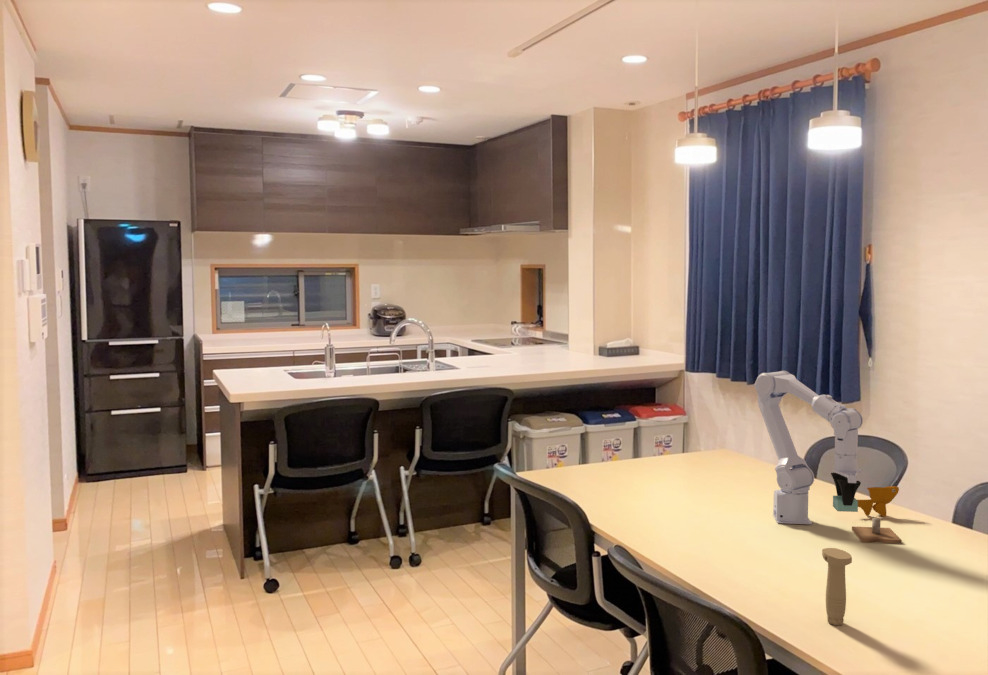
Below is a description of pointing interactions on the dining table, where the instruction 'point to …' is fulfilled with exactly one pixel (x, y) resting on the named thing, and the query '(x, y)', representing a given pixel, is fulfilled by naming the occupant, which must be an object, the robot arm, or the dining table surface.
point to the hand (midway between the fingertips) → (844, 502)
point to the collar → (840, 507)
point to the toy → (878, 499)
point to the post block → (876, 533)
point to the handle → (836, 584)
